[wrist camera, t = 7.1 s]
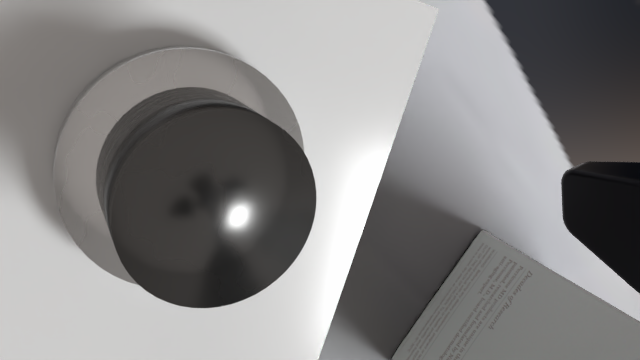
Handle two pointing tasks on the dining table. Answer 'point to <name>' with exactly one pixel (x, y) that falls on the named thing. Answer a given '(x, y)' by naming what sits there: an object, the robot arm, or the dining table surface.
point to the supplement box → (516, 314)
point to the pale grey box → (319, 147)
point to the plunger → (185, 176)
